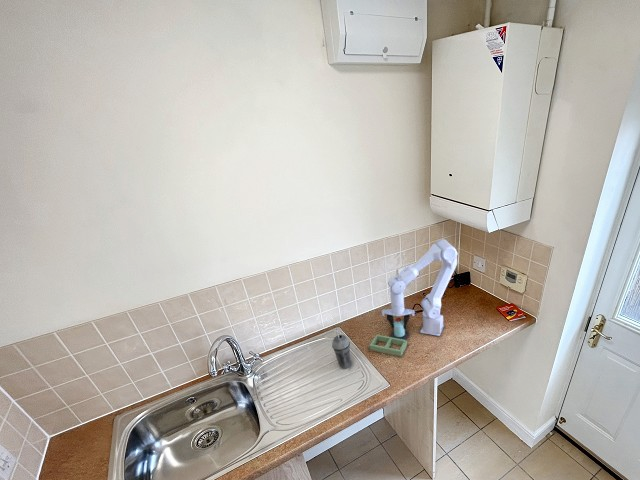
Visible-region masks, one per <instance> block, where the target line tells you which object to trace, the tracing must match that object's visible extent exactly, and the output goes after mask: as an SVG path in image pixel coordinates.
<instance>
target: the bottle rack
mask: <svg viewBox="0 0 640 480" xmlns="http://www.w3.org/2000/svg"><path fill="white" fill-rule="evenodd" d="M378 342H383V343H386V344H385V345H384V346H382V345H378V344H377V343H378ZM392 345H398V346H400V348H399V349H397V348H393V347H391V346H392ZM407 346H408V339H406V340H403V339H398V338H392V337H391V336H387V335H381V334H375V336H374V337H373V339H372V340H371V342H370V343H369V345H368V347H369V351H372V352H373V351H374V352H378V353H383V354H386V355H387V354H388V355H392V356H397V357H402V356H403V354H404V352H405V351H406V348H407Z"/></svg>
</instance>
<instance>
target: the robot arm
mask: <svg viewBox="0 0 640 480" xmlns="http://www.w3.org/2000/svg"><path fill="white" fill-rule="evenodd" d="M458 255H459V254H458V251H457V249H456V248H455V247H454V246H453V245H452V244H450V243H449V242H448V241H447V239H444V238H440V239H438V240H436V241H435V243H433V244H432V245H430V247H429V249H428V250H427V252H425V253H424V254H423V255H422V256H421V257H420V258H419V259H418V260H417V261H416V262H415V263H414V264H413V265H407V266H405V267H404V268H403V270H402V271H401V272H400V273H398V274H396V275H395V276H392V277H391V278H390V279H389V281H388V282H387V285H388V286H389V290H390V292H389V293H390V294H389V295H390V307H391V308H387V309H382V310H381V315H382V317H385V316H386V320H387V321H388V322H389V324H390V326H391V329H393V330H394V324H393V323H394V322H395V320H394V317H402V316H403V321H404V329H405V330H406V329H407V325H408V322H409V320H410V316H412V317H415V310H414V309H409V308H405V295H404V291H405V290H406V287H407V285H409V284H410V283H411V282H412V281H413V280H415V279H416V278H417V277H418V275H419V272H420V271H421V270H423V269H424V268H425V267H426V266H428V265H430V264H431V263H433V262H443V264H442V266H441V268H440V270H439V273H438V275H437V277H436V279H435V281H434V284H433V286H432V288H431V291H430V293H428V294H427V293H426V295H425V297H424V298H423V299H422V300H421V302H420V307H421V308H422V309H423V310H422V327H421V329H420V334H424V335H425V334H427V335H431V336H437V337H440V336H441V335H442V334H441V333H442V332H443V330H444V315H443V314H441V308H442V299H443V295H444V293H445V291H446V289H447V287H448V284H449V283H450V281H451V278H452V276H453V274H454V272H455V270H456V268H457V265H458Z"/></svg>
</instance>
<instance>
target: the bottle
mask: <svg viewBox="0 0 640 480" xmlns="http://www.w3.org/2000/svg"><path fill="white" fill-rule="evenodd" d="M393 324H394V329H393V332H394V335H395V336H396V337H402V336H404V335H405V331H406V329H404V320H403V319H402V318H401V317H396V319H395V320H394V323H393Z"/></svg>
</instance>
